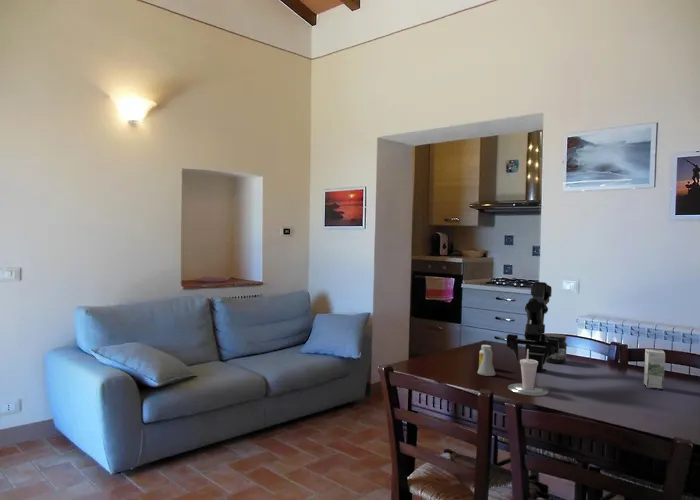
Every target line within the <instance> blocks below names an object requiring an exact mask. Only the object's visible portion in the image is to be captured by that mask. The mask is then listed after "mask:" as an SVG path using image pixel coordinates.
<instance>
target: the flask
mask: <svg viewBox="0 0 700 500" xmlns="http://www.w3.org/2000/svg"><path fill="white" fill-rule="evenodd" d="M483 351H484V356H483V360H482V362H481V365H480V367H479V366H478V370H477V372H476V373H477V374H478V375H480V376H486V377H493V376H494V377H495V376H496V371H495V367H494V365H493V360H492V361H491V351H492V349H491V350H490V349H483Z"/></svg>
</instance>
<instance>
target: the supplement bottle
mask: <svg viewBox="0 0 700 500" xmlns="http://www.w3.org/2000/svg"><path fill="white" fill-rule="evenodd" d="M483 349H490V350H491V361H492V362H493V351H492V346H491V345H489V344H481V347H480V350H479V353H478V354H479V356H478V357H479V358H478V359H479V360H478V368H479V367H480V365H481V362H482V360H483V356H484V351H483Z"/></svg>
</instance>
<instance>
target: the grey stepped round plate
mask: <svg viewBox="0 0 700 500" xmlns="http://www.w3.org/2000/svg"><path fill="white" fill-rule="evenodd" d="M507 389H508V390H509V391H511V392H513V393H515V394H519V395H523V396H529V397H542V396H547V395H548V394H549V390H548V389H547V388H545V387H542V386H538V385H536V384H534V388H533V389H527V388H524V387H523V383H522V382H521V383H511V384H509V385H508V386H507Z"/></svg>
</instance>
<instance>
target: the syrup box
mask: <svg viewBox="0 0 700 500" xmlns="http://www.w3.org/2000/svg"><path fill="white" fill-rule="evenodd" d="M665 364H666V353H665V351H664V350H663V349H655V348H654V349H652V348H645V351H644V365H643V366H644V368H643V383H644V384H645V385H646V386H649V387H657V388H663V389H664V381H665V367H666V365H665ZM644 384H643V385H644Z"/></svg>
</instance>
